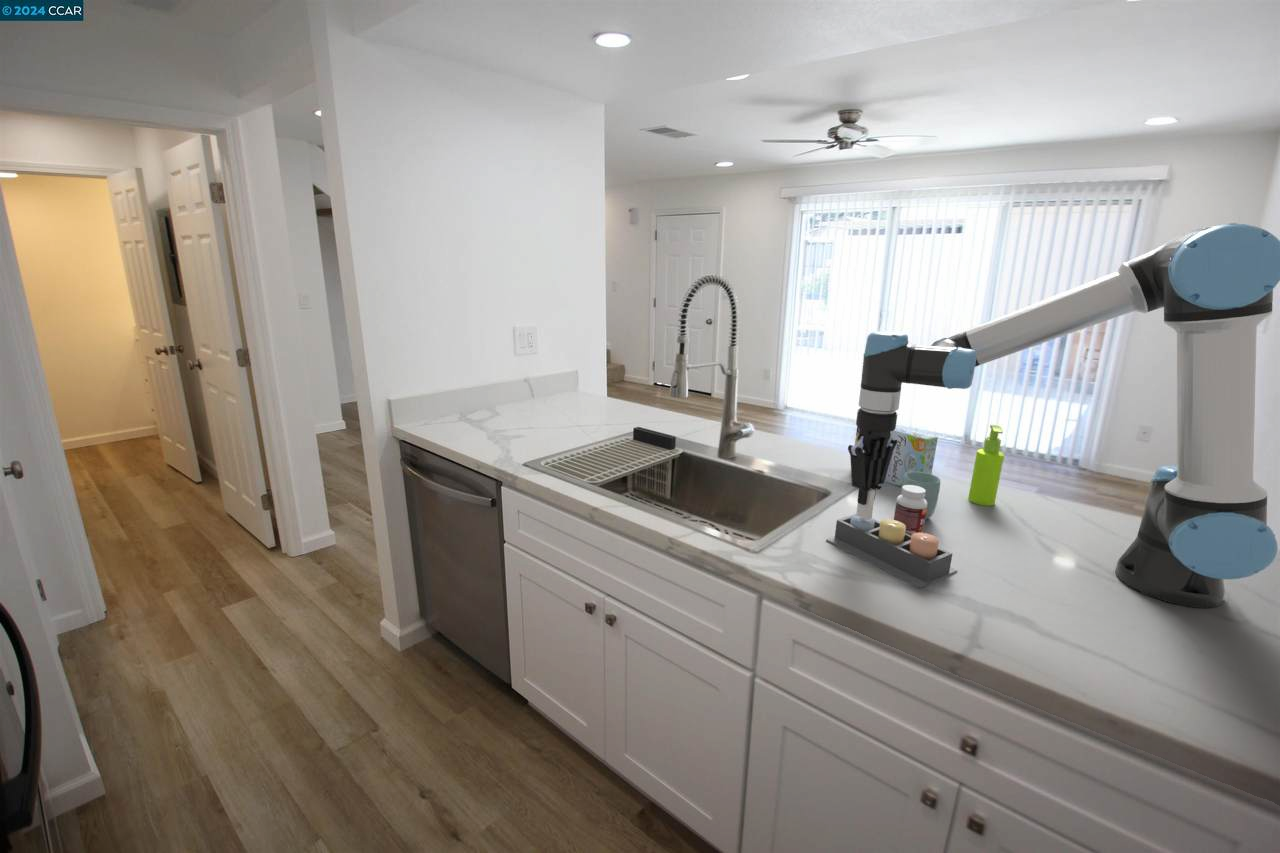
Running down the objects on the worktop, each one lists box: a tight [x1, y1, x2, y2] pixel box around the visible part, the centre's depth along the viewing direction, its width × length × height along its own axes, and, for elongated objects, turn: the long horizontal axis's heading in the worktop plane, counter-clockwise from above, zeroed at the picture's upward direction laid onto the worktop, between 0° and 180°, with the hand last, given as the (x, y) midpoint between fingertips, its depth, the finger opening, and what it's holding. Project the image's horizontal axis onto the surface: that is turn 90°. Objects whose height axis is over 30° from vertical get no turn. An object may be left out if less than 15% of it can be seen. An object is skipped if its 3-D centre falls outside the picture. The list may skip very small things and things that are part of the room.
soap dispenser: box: [967, 424, 1005, 507], centre depth 144 cm, size 6×7×20 cm
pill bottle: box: [893, 485, 927, 535], centre depth 126 cm, size 6×6×11 cm
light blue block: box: [850, 514, 876, 531], centre depth 123 cm, size 5×5×5 cm
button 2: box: [878, 518, 906, 545], centre depth 117 cm, size 5×5×5 cm
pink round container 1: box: [909, 532, 940, 560], centre depth 111 cm, size 5×5×5 cm
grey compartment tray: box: [825, 513, 958, 589], centre depth 118 cm, size 22×12×4 cm, turn 32°
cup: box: [900, 472, 941, 520], centre depth 136 cm, size 8×8×10 cm
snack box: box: [854, 425, 939, 488], centre depth 159 cm, size 21×6×15 cm, turn 34°
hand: (863, 516), depth 122 cm, fingers closed
